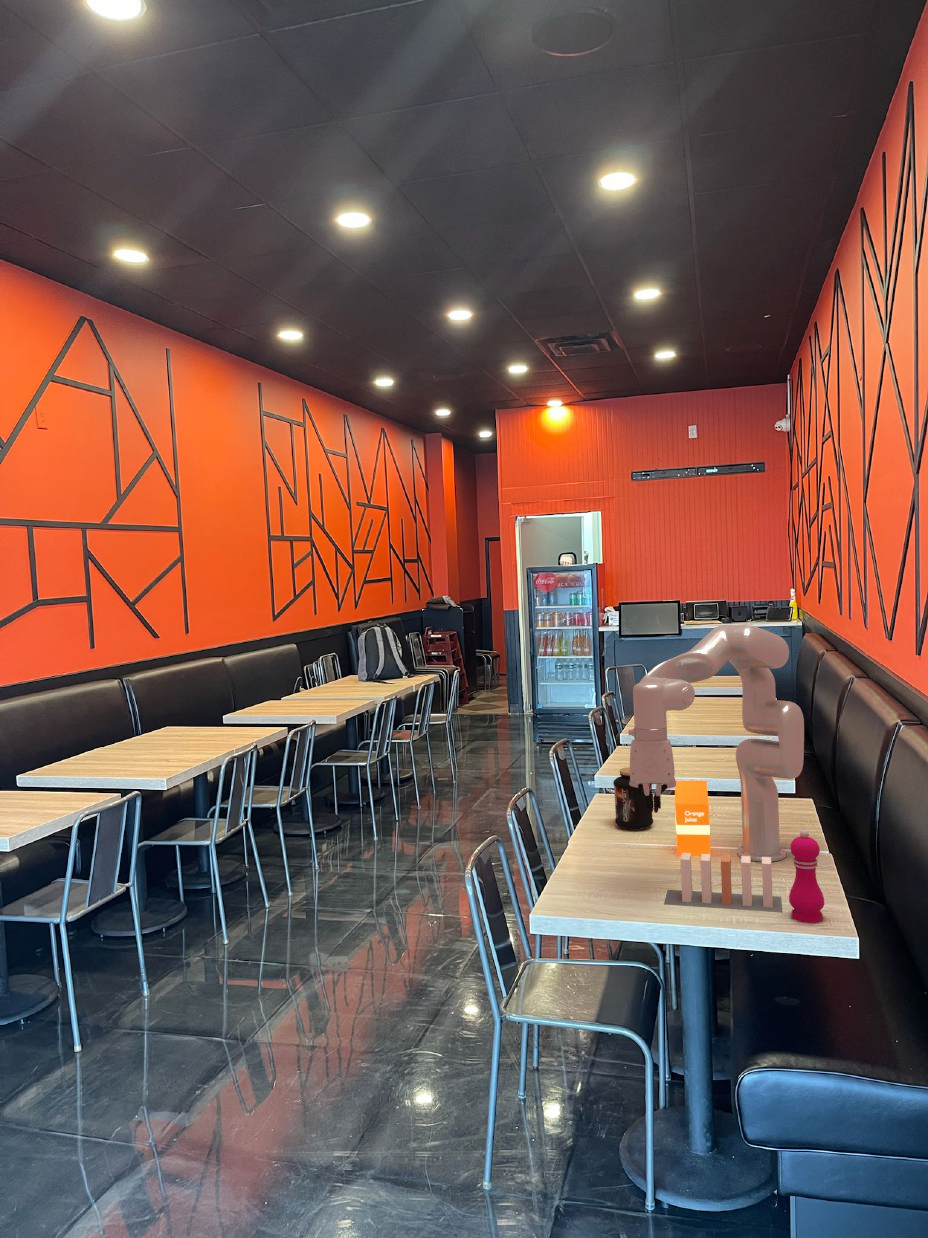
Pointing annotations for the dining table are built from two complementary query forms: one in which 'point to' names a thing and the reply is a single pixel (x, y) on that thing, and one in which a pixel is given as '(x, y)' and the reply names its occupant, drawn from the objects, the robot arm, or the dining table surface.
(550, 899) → the dining table surface
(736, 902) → the mat
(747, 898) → the domino
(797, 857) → the pepper mill
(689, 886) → the domino
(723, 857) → the domino
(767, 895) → the domino
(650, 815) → the container
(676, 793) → the orange juice
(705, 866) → the domino
